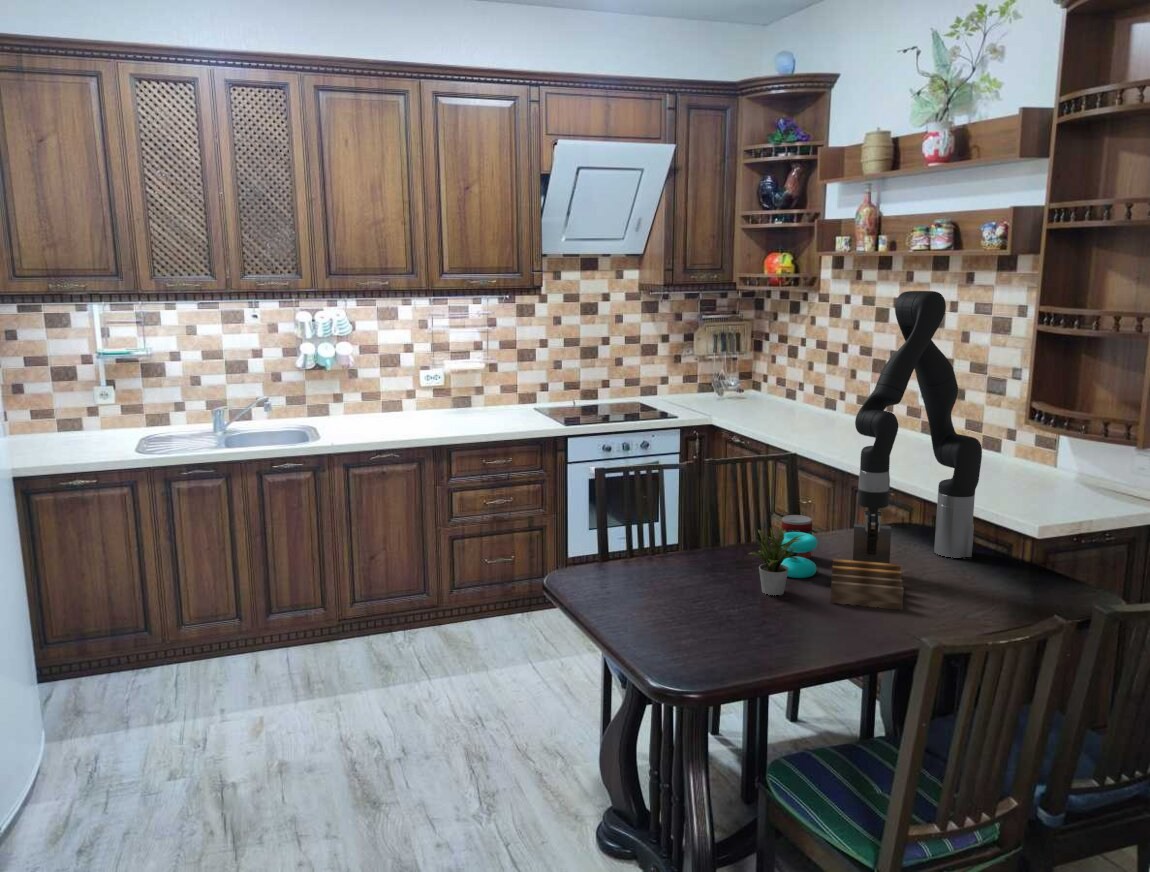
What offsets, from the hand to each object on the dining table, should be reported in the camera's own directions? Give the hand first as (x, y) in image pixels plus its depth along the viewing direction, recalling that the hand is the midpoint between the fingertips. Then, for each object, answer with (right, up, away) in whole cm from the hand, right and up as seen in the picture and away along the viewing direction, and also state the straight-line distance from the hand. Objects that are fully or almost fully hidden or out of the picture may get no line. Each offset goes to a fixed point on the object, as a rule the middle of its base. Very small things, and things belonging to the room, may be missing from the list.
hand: (871, 552), depth 234 cm
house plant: (-28, -9, -13) cm, 32 cm away
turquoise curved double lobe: (-19, -6, +1) cm, 20 cm away
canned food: (-16, -3, +14) cm, 22 cm away
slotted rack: (-6, -8, -14) cm, 17 cm away
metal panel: (0, -3, +1) cm, 3 cm away
